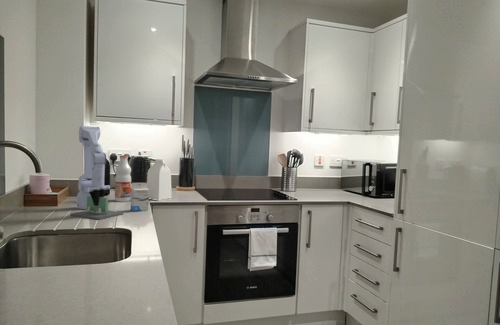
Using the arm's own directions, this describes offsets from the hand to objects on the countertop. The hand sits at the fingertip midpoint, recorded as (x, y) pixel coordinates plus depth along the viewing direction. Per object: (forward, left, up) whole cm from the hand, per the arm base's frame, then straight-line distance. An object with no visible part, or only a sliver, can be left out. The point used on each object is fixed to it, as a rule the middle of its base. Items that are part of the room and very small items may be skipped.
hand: (97, 205), depth 181 cm
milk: (-8, +61, -5) cm, 62 cm away
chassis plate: (0, 0, -5) cm, 5 cm away
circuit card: (0, 0, -3) cm, 3 cm away
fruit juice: (-21, +42, -5) cm, 47 cm away
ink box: (+8, +22, -5) cm, 24 cm away
